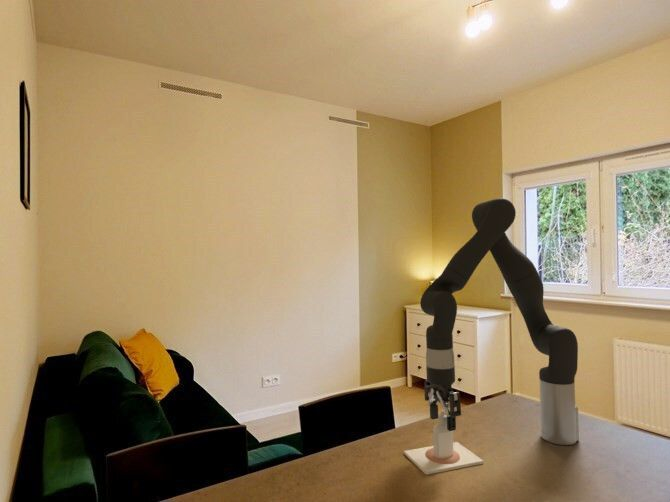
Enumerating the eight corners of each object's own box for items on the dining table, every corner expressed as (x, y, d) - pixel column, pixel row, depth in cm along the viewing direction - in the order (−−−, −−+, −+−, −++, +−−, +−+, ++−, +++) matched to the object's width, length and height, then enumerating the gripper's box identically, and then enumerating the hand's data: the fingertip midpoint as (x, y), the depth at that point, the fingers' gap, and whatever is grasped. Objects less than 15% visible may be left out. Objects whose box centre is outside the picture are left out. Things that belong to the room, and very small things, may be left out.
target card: (456, 444, 120) (456, 441, 120) (483, 463, 108) (483, 460, 108) (404, 453, 115) (403, 450, 115) (425, 474, 103) (425, 471, 103)
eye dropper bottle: (456, 459, 109) (454, 413, 109) (434, 459, 109) (433, 413, 109) (452, 451, 113) (450, 407, 114) (431, 451, 114) (430, 408, 114)
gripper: (468, 369, 106) (470, 432, 106) (438, 357, 120) (440, 413, 120) (442, 372, 104) (444, 437, 104) (415, 359, 118) (417, 416, 117)
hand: (442, 424), depth 112 cm, fingers open, 8 cm apart
